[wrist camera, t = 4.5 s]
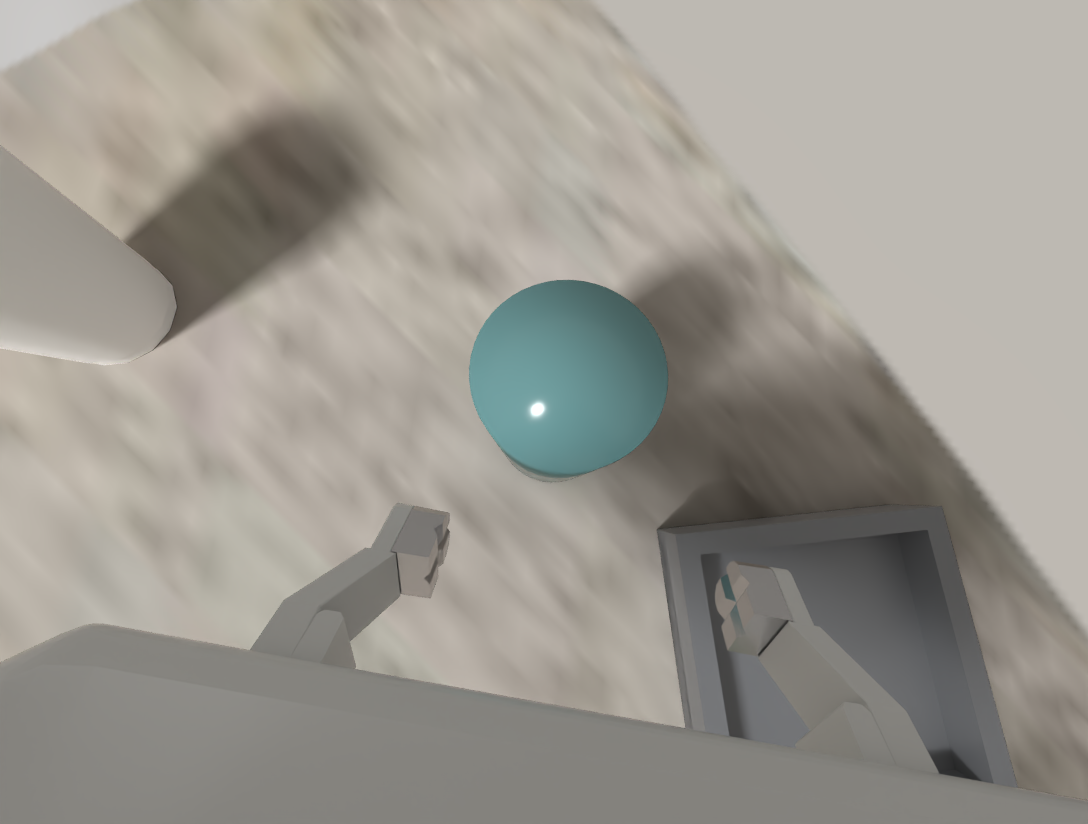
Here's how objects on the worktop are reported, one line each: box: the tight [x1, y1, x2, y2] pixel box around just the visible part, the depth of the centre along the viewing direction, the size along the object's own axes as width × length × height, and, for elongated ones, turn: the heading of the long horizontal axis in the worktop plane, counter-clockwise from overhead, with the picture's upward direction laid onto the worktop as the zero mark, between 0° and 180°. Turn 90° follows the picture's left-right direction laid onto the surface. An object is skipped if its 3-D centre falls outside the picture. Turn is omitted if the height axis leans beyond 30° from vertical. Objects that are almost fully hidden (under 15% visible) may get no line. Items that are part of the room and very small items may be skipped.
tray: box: [657, 505, 1018, 788], centre depth 20 cm, size 13×13×3 cm
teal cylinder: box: [469, 280, 668, 482], centre depth 18 cm, size 6×6×11 cm
